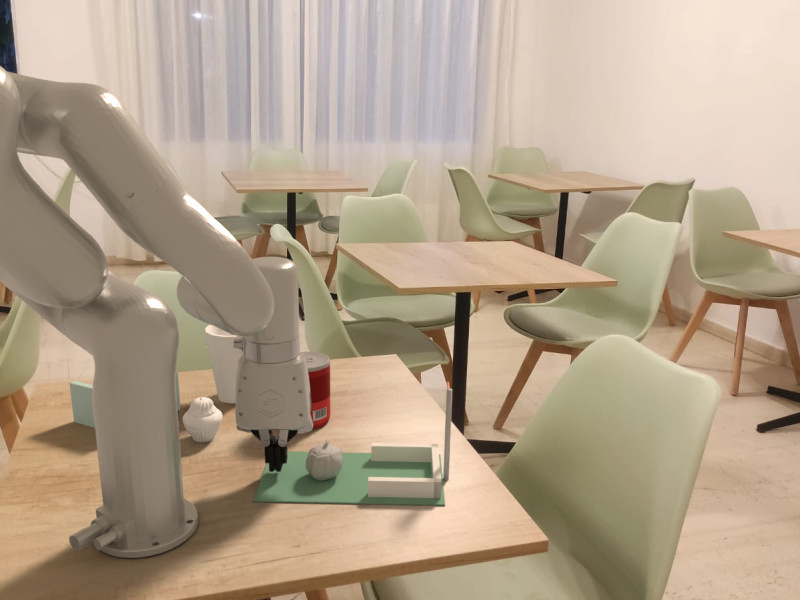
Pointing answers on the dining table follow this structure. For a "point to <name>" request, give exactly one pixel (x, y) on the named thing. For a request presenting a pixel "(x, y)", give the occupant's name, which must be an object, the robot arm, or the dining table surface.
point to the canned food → (319, 387)
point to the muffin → (202, 419)
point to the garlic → (324, 461)
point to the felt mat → (340, 481)
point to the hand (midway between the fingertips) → (276, 466)
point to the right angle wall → (83, 402)
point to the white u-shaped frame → (412, 454)
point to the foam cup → (223, 361)
